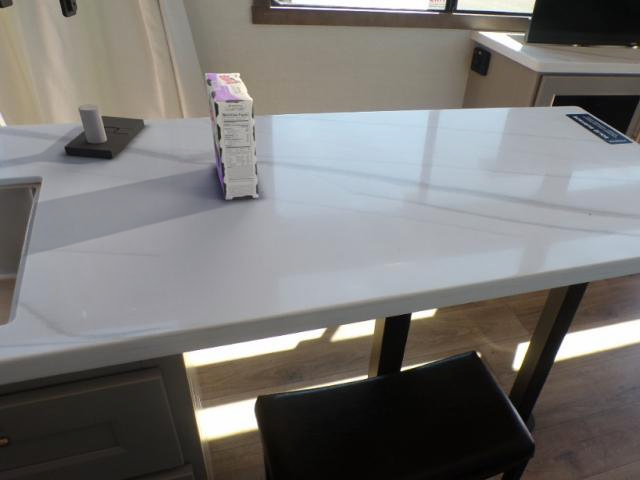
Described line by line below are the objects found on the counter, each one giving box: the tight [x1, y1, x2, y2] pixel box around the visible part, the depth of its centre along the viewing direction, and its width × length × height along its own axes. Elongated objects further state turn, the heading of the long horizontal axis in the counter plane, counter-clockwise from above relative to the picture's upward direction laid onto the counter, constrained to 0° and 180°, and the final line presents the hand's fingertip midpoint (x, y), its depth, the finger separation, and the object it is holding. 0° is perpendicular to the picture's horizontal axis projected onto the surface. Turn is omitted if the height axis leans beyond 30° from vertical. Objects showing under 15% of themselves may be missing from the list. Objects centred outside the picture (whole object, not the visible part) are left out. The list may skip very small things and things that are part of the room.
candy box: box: [204, 72, 260, 201], centre depth 86 cm, size 14×6×16 cm, turn 21°
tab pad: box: [64, 103, 131, 159], centre depth 95 cm, size 8×10×8 cm
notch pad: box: [101, 115, 146, 142], centre depth 102 cm, size 8×8×2 cm
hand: (38, 11), depth 82 cm, fingers open, 9 cm apart
